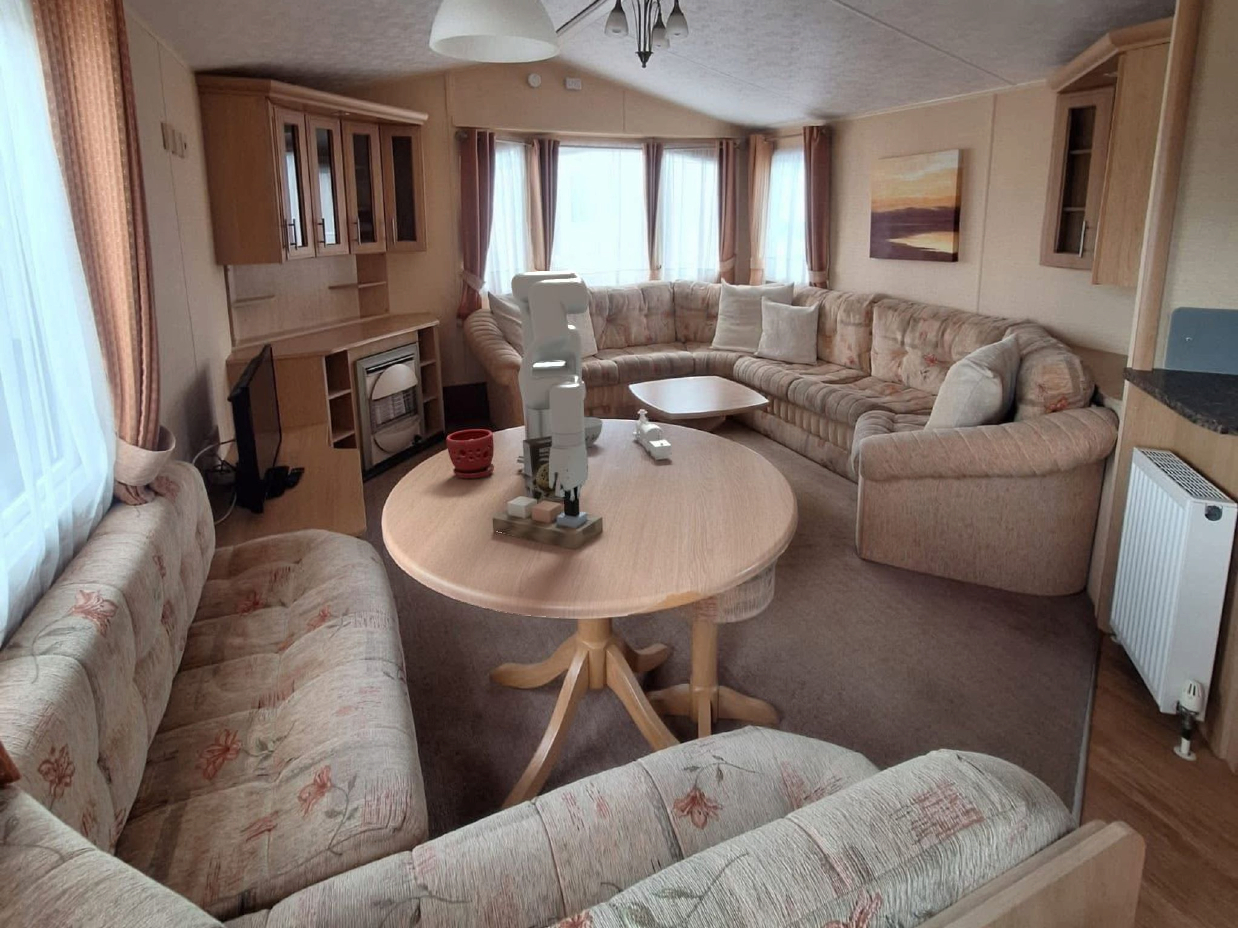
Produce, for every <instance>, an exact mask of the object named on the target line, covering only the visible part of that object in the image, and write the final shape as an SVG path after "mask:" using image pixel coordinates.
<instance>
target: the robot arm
mask: <svg viewBox="0 0 1238 928" xmlns="http://www.w3.org/2000/svg"><path fill="white" fill-rule="evenodd" d="M510 287H511V292H512V296H513V298H514V300H515V303H516V304H517V306H518V308H519V311H520V316H521V317H520V318H521V340H522V343H521V344H522V352H523V356H522V358H521V362H520V370H519V371H518V374H517V377H518V378H517V379H518V386H519V390H520V391H519V392H520V396H521V400H522V408H523V409H522V410H523V419H524V420H523V421H524V436H525V439H524V440H528V439H535V438H541V437H548V436H551V442H552V446H551V448H550V455H549V487H550V488H551V489H554V488H556V492H555V496H557V497H562V499H563V500H562V501H563V509H564V514H565V515H568V516H573V517H576V516H577V515H579V514H580V512H581V511H580V497H581V489H582V487H583V486H584V485H585V484H586V481H587V480H588V478H589V459H588V451H587V447H586V445H585V426H584V417H585V410H584V409H585V407H584V405H585V403H584V400H585V399H586V396H587V394H586V392H587V390H586V389H587V388H586V384H585V381H584V380H583V379H582V378H583V375H582V372H583V369H582V368H583V362H582V361H583V358H582V357H583V355H582V354H583V352H582V351H583V348H582V347H583V346H582V337H581V333H580V330H579V329H578V328H577V327H576V326H574V325H570V324H569V322H568V316H567V315H579V314H580V315H581V314H582V315H583V314H584V313H586V312H587V311H588V308H589V304H590V296H589V290H588V287H587V284H586V282H585V281H584V279H583V278H582V276H581V275H579V273H578V272H576V271H575V270H557V271H555V270H554V271H530V272H529V271H528V272H527V271H526V272H520V273H517V274H515V275H513V277H512V278H511V282H510ZM516 462H517V464H524V455H523V453H522V454H519V455H518V458H517V459H516ZM521 473H522V475H523V476H524V477H525V475H524V467H523V468H522V469H521Z"/></svg>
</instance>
